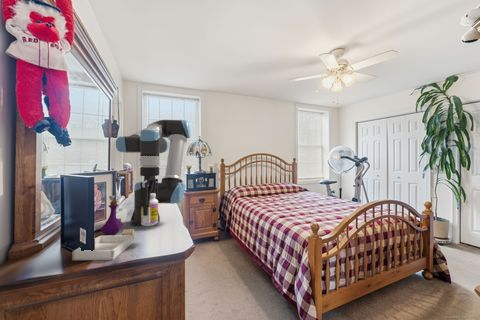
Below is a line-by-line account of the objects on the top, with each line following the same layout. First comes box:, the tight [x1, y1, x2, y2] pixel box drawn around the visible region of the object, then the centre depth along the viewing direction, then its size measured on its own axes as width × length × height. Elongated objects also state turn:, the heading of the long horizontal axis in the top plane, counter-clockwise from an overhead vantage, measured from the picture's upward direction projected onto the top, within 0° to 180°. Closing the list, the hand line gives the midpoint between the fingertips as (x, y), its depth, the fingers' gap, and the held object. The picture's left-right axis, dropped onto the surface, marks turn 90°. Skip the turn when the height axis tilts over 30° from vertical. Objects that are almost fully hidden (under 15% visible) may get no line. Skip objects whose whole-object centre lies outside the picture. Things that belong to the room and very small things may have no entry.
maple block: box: [121, 228, 135, 236], centre depth 91 cm, size 4×4×4 cm
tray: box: [71, 234, 135, 261], centre depth 80 cm, size 16×14×3 cm
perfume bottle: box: [99, 195, 124, 236], centre depth 98 cm, size 8×8×18 cm
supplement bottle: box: [141, 193, 159, 227], centre depth 89 cm, size 7×7×13 cm
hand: (149, 220), depth 89 cm, fingers closed on supplement bottle, 7 cm apart
